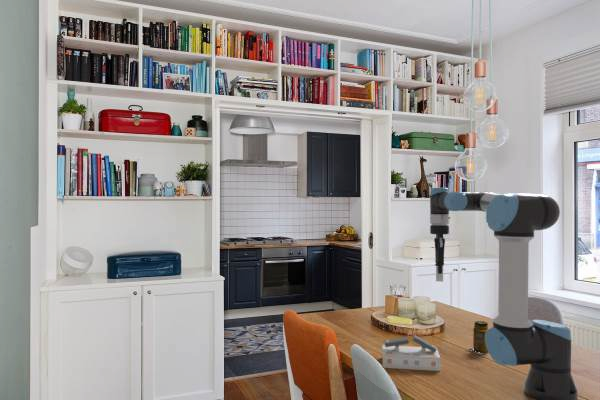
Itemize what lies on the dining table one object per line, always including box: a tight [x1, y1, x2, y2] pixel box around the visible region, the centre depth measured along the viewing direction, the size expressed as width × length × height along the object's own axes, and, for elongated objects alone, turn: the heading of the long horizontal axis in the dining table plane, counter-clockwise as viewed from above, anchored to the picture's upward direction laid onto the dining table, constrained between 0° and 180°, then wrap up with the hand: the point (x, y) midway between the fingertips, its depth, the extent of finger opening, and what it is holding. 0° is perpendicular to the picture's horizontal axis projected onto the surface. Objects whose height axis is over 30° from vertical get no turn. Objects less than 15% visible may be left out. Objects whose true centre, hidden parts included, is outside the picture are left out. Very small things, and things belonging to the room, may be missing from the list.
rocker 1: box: [384, 336, 410, 347], centre depth 184 cm, size 4×9×2 cm, turn 80°
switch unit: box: [382, 344, 441, 372], centre depth 183 cm, size 12×21×7 cm, turn 80°
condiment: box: [466, 320, 489, 356], centre depth 199 cm, size 7×8×12 cm
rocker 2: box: [411, 334, 437, 353], centre depth 182 cm, size 4×9×2 cm, turn 80°
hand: (439, 281), depth 198 cm, fingers closed
